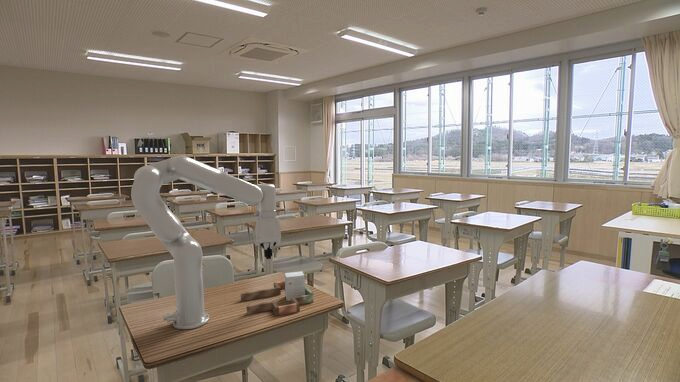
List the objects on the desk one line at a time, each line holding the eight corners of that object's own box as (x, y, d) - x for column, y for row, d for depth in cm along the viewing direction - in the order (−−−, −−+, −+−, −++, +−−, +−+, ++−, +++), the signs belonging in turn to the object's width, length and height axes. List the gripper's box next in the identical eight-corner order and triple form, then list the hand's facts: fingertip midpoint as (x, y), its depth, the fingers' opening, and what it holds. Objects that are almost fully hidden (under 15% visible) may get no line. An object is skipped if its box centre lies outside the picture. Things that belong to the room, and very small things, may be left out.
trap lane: (250, 320, 138) (249, 310, 137) (238, 295, 163) (238, 286, 163) (318, 307, 149) (318, 297, 148) (297, 285, 174) (297, 276, 174)
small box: (303, 294, 163) (302, 270, 162) (305, 299, 158) (304, 275, 156) (285, 296, 161) (284, 272, 160) (286, 301, 155) (285, 277, 154)
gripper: (250, 217, 145) (251, 263, 146) (287, 214, 151) (288, 258, 152) (246, 214, 151) (248, 258, 153) (282, 211, 157) (283, 253, 159)
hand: (268, 258), depth 153 cm, fingers closed
